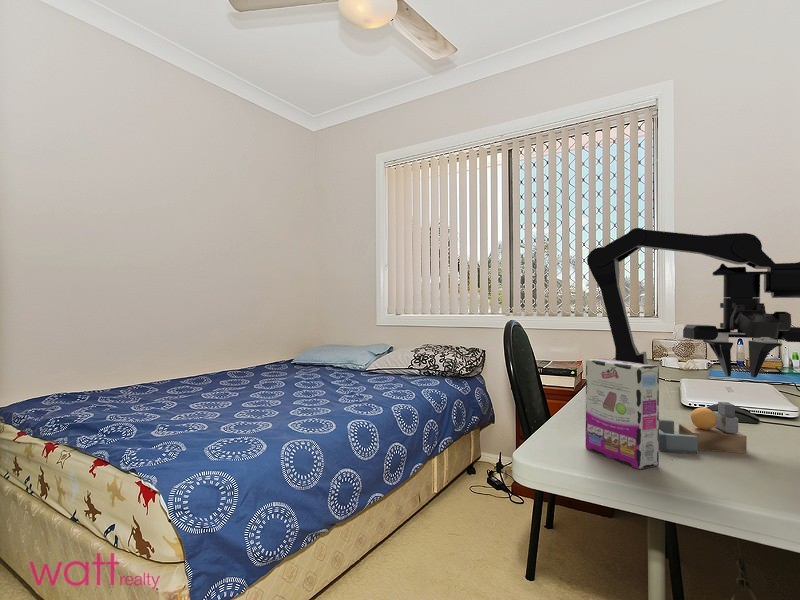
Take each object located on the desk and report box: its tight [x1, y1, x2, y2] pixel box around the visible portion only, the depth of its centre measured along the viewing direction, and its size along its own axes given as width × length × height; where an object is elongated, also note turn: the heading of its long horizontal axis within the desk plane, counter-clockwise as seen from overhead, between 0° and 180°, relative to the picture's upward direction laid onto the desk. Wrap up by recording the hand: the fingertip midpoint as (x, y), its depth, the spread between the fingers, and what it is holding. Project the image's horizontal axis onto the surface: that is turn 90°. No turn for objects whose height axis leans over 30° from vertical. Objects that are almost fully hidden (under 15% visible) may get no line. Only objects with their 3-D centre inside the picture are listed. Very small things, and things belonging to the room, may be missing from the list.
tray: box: [659, 418, 698, 455], centre depth 82 cm, size 6×11×3 cm, turn 168°
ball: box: [690, 407, 717, 430], centre depth 81 cm, size 4×4×4 cm
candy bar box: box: [585, 358, 660, 470], centre depth 74 cm, size 11×5×16 cm, turn 23°
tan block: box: [678, 423, 748, 454], centre depth 80 cm, size 8×6×3 cm
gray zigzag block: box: [713, 401, 739, 433], centre depth 80 cm, size 2×5×5 cm, turn 168°
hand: (740, 376), depth 85 cm, fingers open, 4 cm apart
